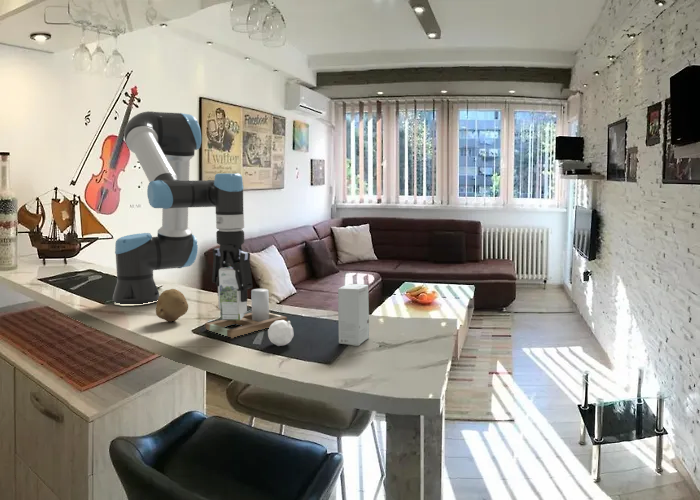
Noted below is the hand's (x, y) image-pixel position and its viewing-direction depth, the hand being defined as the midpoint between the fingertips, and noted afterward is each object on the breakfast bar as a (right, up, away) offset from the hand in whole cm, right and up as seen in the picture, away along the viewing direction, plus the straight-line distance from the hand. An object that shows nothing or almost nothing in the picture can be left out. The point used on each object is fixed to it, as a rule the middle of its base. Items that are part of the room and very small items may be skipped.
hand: (232, 310), depth 154 cm
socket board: (+3, -5, +5) cm, 8 cm away
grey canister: (+6, -5, +8) cm, 12 cm away
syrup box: (0, -2, 0) cm, 2 cm away
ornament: (+15, -8, -12) cm, 21 cm away
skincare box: (+34, -7, -9) cm, 36 cm away
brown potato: (-20, -5, +10) cm, 23 cm away
